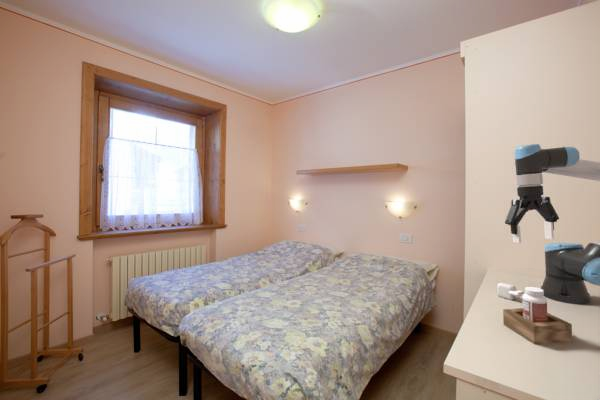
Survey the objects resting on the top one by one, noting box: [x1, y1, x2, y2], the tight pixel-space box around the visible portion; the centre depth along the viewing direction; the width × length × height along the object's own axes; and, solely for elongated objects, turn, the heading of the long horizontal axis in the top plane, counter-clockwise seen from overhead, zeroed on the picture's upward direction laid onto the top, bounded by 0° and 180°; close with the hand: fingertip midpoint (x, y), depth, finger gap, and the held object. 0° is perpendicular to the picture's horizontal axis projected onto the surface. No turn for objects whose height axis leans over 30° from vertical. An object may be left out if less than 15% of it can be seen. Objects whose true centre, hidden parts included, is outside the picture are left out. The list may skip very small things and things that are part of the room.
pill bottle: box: [521, 286, 548, 323], centre depth 88 cm, size 6×6×11 cm
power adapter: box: [496, 282, 525, 301], centre depth 113 cm, size 11×5×6 cm, turn 25°
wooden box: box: [502, 307, 573, 345], centre depth 88 cm, size 12×12×6 cm
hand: (533, 240), depth 102 cm, fingers open, 13 cm apart
